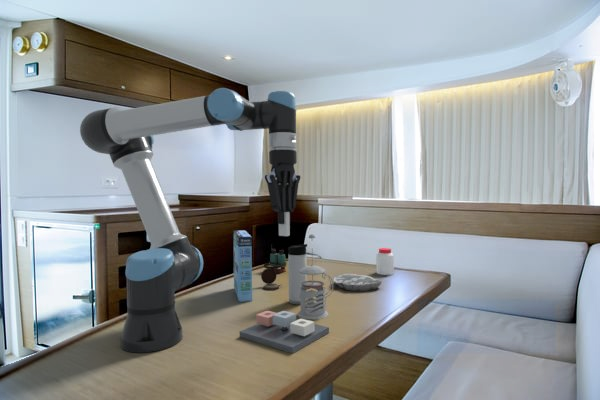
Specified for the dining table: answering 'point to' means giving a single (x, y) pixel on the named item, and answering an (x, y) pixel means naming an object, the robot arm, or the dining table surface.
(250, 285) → the gum box
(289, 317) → the grey key
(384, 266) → the pill bottle
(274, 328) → the keyboard base
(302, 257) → the travel mug
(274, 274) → the compass
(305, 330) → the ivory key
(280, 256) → the binoculars
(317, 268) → the french press
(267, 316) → the pink cube
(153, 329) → the robot arm
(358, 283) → the brain slice
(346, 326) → the dining table surface
